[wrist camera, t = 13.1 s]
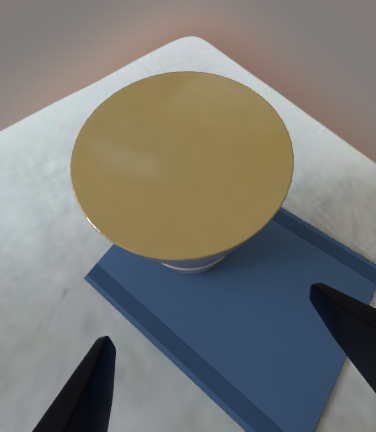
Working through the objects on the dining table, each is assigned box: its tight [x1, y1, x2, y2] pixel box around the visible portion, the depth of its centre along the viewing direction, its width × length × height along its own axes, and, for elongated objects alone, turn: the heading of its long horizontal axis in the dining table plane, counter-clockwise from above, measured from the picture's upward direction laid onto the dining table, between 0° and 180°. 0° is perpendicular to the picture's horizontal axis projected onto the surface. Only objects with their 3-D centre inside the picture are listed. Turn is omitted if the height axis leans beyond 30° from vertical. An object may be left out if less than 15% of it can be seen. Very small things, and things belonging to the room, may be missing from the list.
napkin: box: [84, 207, 376, 432], centre depth 17 cm, size 20×16×1 cm
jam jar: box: [70, 71, 294, 275], centre depth 12 cm, size 6×6×13 cm
